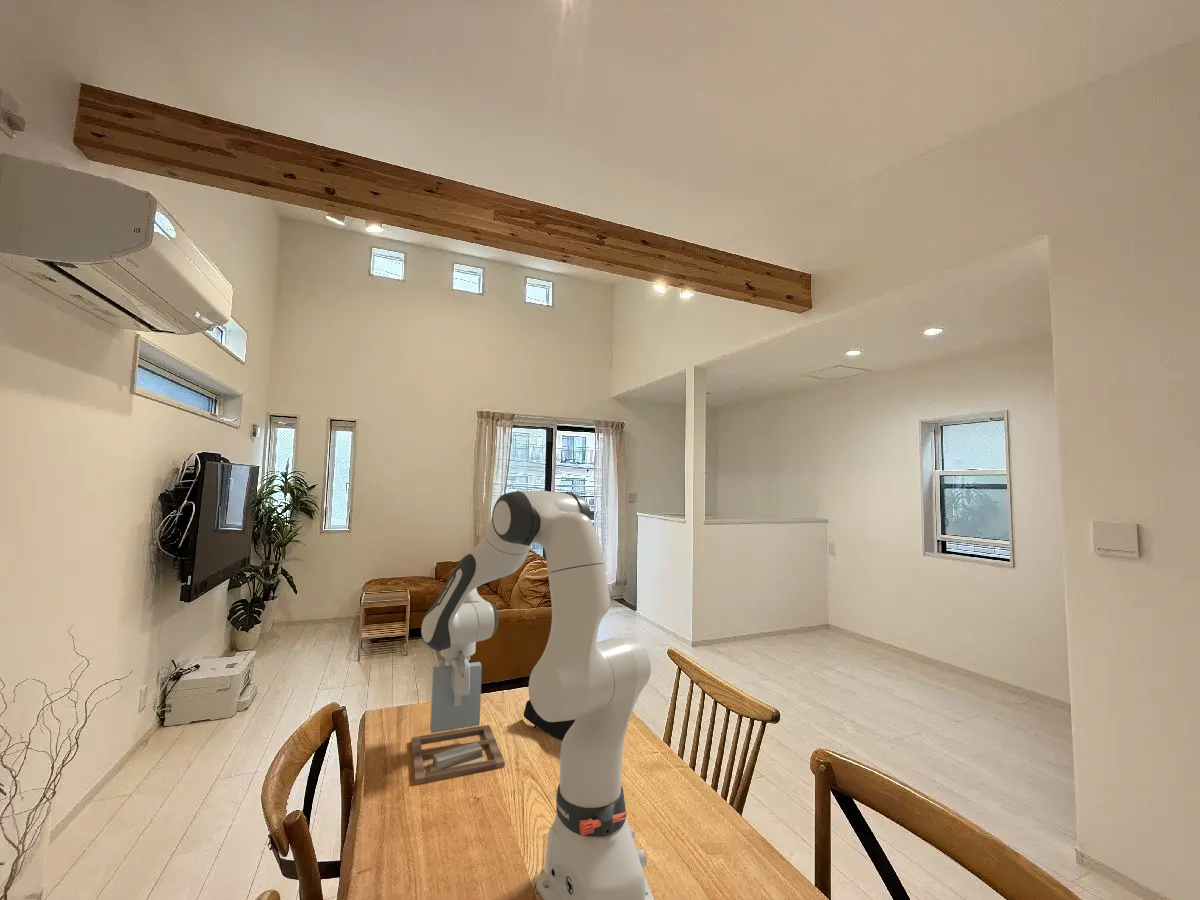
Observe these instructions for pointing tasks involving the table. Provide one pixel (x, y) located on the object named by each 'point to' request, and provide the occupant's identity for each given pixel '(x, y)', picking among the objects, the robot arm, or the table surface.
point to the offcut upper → (457, 756)
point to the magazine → (547, 723)
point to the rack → (454, 771)
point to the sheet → (443, 698)
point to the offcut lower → (432, 767)
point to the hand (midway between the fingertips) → (456, 701)
